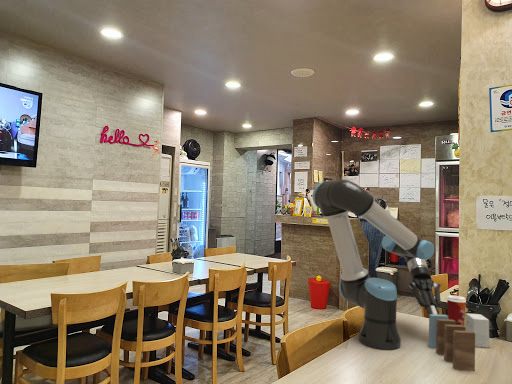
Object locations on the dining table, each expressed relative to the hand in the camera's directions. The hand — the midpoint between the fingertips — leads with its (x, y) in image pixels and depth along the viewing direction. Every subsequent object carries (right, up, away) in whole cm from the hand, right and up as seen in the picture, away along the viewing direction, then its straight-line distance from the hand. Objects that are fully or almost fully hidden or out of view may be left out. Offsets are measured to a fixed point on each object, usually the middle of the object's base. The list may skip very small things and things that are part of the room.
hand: (436, 322), depth 141 cm
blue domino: (-1, -8, -2) cm, 9 cm away
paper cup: (+18, -10, +19) cm, 28 cm away
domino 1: (-1, -8, -8) cm, 12 cm away
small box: (+17, -9, +3) cm, 20 cm away
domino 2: (-1, -8, -14) cm, 17 cm away
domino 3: (-1, -8, -20) cm, 22 cm away
